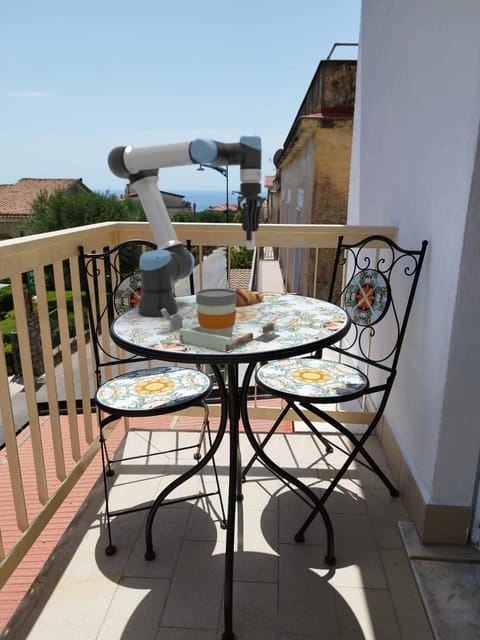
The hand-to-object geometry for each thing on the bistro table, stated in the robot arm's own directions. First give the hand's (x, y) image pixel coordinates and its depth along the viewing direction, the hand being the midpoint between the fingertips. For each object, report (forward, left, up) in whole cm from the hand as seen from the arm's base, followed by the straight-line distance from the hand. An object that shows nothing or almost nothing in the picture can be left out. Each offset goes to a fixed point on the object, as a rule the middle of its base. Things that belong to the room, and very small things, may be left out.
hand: (250, 249), depth 157 cm
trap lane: (+4, -28, -24) cm, 37 cm away
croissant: (-9, +13, -25) cm, 29 cm away
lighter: (-16, -31, -25) cm, 43 cm away
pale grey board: (+2, -41, -24) cm, 48 cm away
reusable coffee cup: (+2, -34, -25) cm, 42 cm away
